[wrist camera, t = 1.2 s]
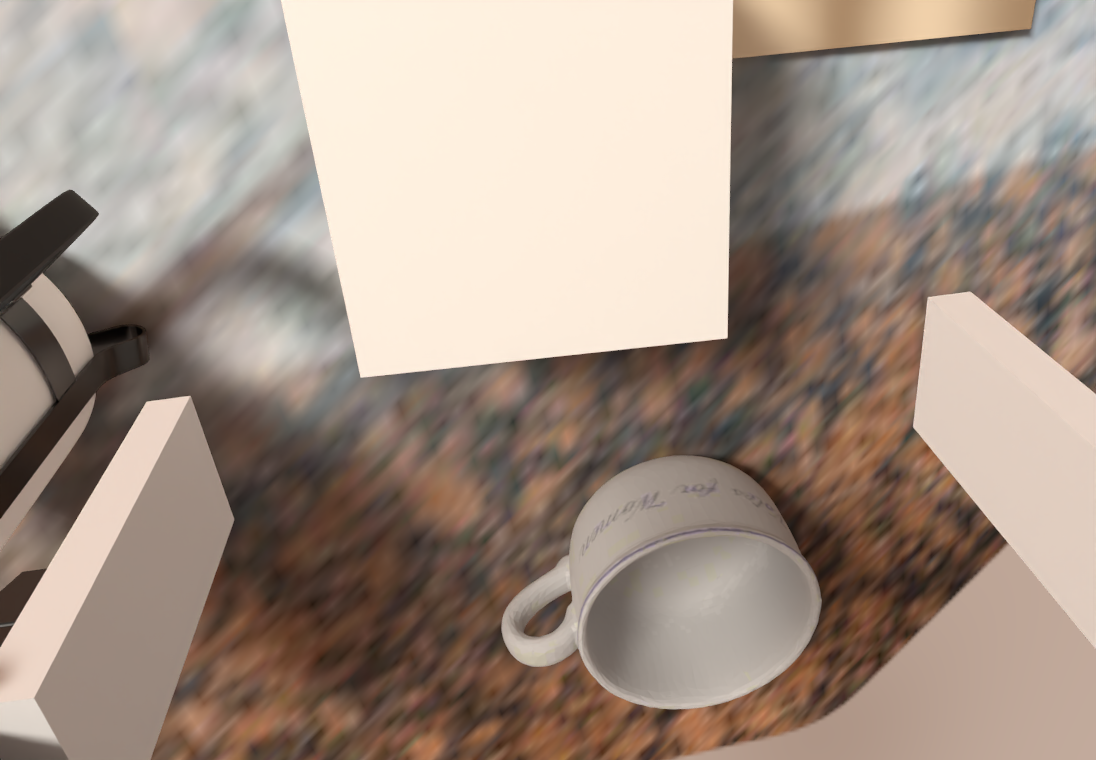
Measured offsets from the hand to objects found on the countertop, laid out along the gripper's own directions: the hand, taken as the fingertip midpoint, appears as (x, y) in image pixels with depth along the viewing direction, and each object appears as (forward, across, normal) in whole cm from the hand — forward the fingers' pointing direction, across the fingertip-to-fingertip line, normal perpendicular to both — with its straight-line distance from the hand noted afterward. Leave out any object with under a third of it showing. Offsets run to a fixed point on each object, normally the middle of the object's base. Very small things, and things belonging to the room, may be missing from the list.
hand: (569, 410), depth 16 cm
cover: (+22, 0, -1) cm, 22 cm away
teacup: (+22, -4, +20) cm, 30 cm away
